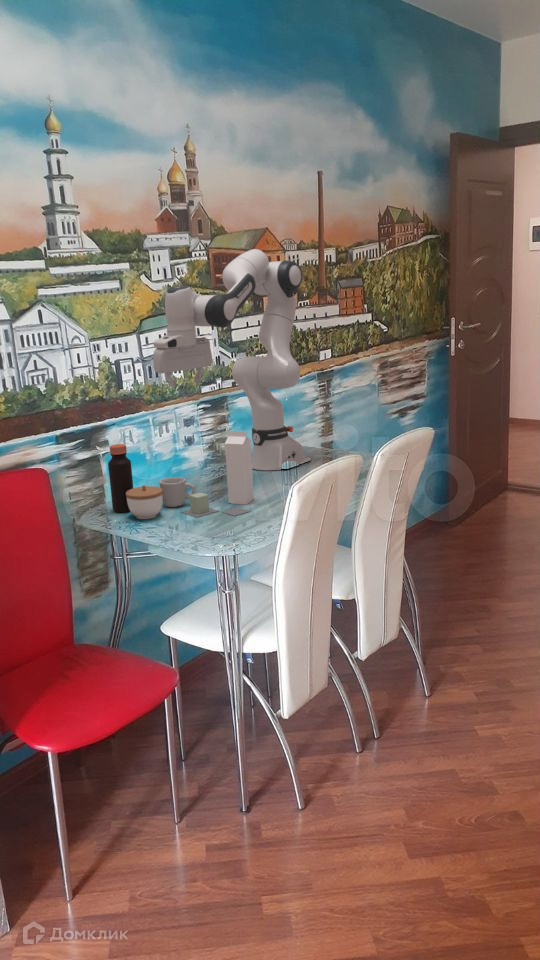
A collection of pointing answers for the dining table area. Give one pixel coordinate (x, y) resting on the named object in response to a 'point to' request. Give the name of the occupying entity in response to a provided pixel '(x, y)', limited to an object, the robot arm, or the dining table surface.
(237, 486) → the milk
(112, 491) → the vinegar
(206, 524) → the dining table surface
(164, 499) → the cup
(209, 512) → the thin grey square tile
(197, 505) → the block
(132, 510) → the lidded jar
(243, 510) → the grey square coaster
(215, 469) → the dining table surface
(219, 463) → the dining table surface
